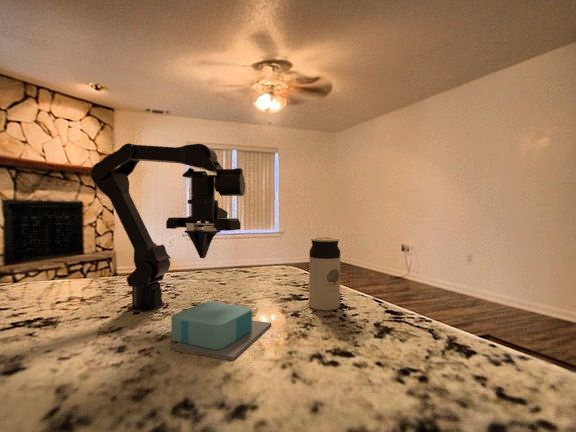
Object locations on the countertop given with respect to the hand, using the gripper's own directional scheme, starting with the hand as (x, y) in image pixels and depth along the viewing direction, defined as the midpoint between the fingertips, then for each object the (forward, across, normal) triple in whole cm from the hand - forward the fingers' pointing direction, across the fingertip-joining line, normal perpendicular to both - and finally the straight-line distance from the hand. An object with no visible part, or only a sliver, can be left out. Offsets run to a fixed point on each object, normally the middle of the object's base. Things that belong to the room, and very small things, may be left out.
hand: (202, 258), depth 85 cm
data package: (+10, -7, +14) cm, 19 cm away
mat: (+13, -15, +13) cm, 24 cm away
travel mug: (+13, -28, -15) cm, 34 cm away
